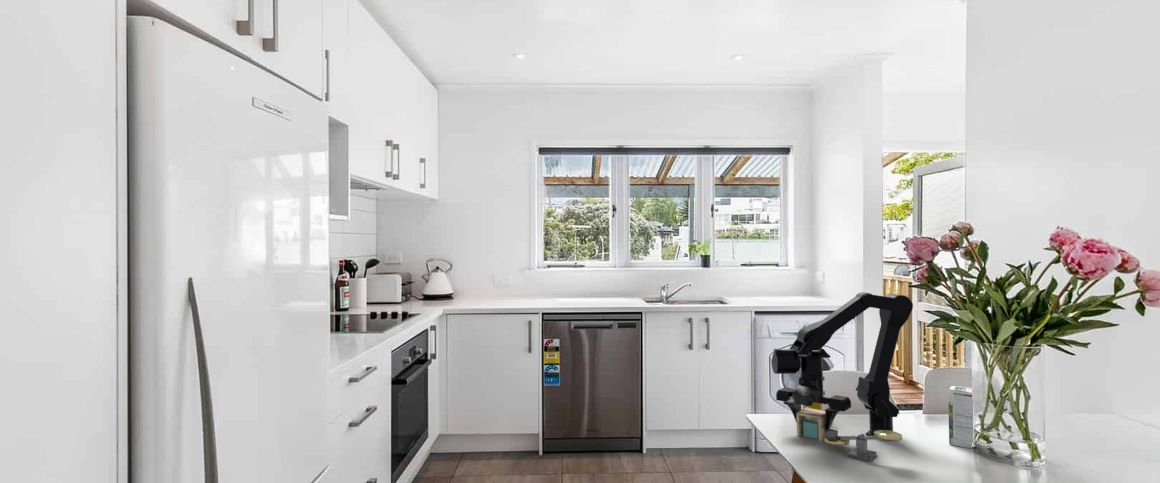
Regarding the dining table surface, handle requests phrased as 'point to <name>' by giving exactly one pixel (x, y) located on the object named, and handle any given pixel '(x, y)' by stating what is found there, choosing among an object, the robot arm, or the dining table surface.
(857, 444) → the balance
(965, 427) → the syrup box
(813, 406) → the supplement bottle
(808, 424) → the block
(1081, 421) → the dining table surface
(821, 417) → the cover
